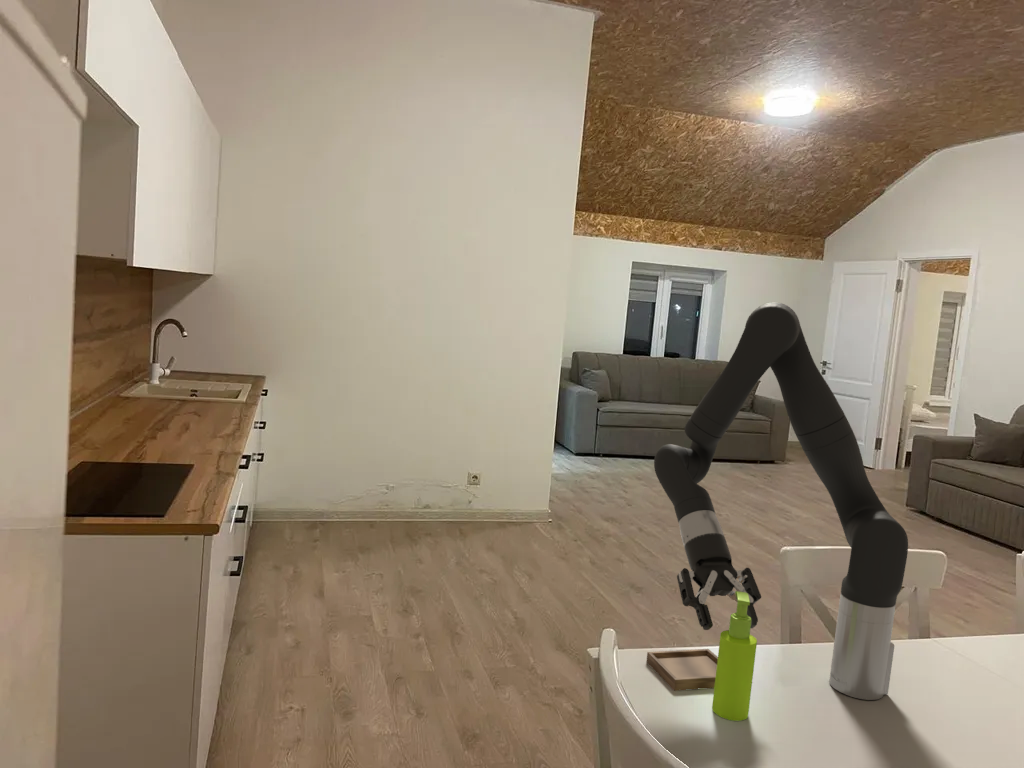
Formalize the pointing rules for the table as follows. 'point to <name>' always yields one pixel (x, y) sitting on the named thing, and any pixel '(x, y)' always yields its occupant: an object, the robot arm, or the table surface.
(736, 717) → the soap dispenser
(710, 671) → the soap tray
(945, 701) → the table surface
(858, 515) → the robot arm
